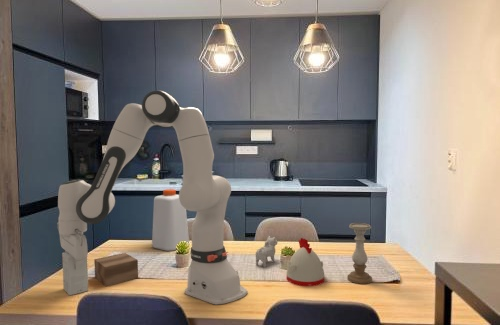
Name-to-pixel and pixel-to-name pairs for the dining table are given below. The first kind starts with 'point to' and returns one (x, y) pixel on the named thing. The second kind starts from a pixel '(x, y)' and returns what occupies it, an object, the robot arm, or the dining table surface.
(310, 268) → the kitchen timer
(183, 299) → the dining table surface
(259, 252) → the dog figurine
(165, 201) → the plastic bottle
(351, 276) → the candle holder
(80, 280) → the small box
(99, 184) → the robot arm
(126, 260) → the walnut block
